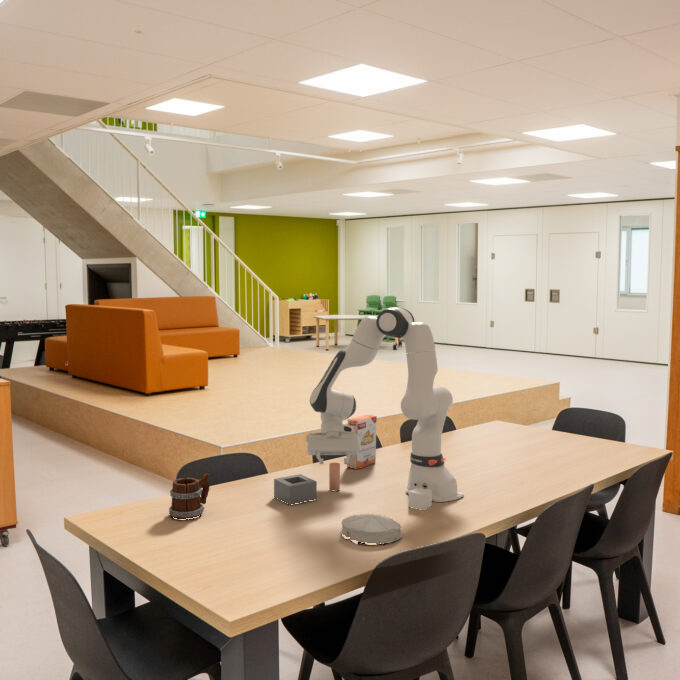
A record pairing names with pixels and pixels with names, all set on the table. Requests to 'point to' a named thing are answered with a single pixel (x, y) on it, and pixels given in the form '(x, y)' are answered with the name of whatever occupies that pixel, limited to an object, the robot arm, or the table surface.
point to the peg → (334, 476)
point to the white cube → (420, 498)
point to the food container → (371, 528)
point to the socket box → (295, 489)
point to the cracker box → (364, 441)
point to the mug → (188, 497)
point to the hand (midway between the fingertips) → (333, 463)
